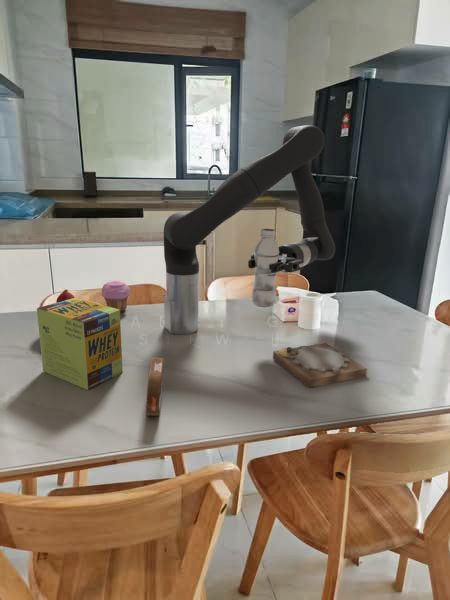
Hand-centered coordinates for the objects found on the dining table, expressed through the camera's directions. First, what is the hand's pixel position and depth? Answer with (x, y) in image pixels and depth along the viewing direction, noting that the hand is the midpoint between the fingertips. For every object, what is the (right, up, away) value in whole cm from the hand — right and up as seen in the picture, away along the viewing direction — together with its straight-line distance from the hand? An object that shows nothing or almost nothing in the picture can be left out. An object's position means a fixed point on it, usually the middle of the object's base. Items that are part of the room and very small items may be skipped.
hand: (261, 266), depth 108 cm
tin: (-23, -30, -20) cm, 43 cm away
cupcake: (-44, -12, +32) cm, 56 cm away
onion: (-59, -13, +28) cm, 66 cm away
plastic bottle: (+1, -10, +5) cm, 11 cm away
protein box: (-42, -25, -9) cm, 49 cm away
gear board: (+14, -25, -2) cm, 28 cm away
